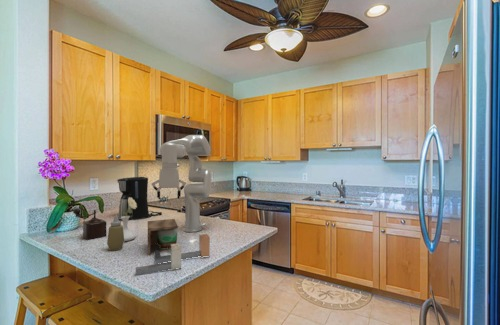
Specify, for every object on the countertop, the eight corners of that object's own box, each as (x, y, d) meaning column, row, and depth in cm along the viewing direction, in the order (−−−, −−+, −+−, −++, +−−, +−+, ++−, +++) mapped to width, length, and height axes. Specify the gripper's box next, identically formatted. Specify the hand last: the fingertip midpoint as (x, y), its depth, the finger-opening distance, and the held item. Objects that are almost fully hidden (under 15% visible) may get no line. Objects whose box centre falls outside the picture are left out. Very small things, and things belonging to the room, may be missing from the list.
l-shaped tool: (179, 265, 109) (180, 243, 109) (181, 268, 105) (181, 245, 105) (135, 272, 101) (135, 248, 101) (135, 276, 98) (135, 251, 98)
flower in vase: (124, 244, 136) (124, 199, 136) (109, 241, 140) (109, 198, 140) (142, 237, 148) (142, 196, 148) (128, 235, 152) (128, 195, 152)
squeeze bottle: (112, 252, 123) (112, 217, 123) (103, 249, 127) (104, 215, 127) (127, 248, 130) (127, 214, 130) (119, 245, 134) (119, 212, 134)
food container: (156, 251, 126) (157, 231, 126) (155, 247, 131) (155, 228, 131) (180, 247, 131) (181, 228, 131) (178, 243, 137) (178, 226, 137)
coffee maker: (112, 218, 198) (112, 177, 198) (150, 211, 223) (150, 175, 223) (125, 222, 184) (125, 178, 184) (163, 215, 209) (163, 176, 209)
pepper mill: (101, 232, 157) (101, 205, 157) (106, 236, 150) (107, 207, 149) (72, 238, 145) (72, 208, 145) (76, 242, 138) (77, 211, 138)
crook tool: (204, 249, 129) (204, 230, 129) (209, 257, 118) (209, 236, 118) (154, 256, 119) (154, 235, 119) (155, 265, 108) (155, 243, 108)
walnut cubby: (174, 241, 141) (174, 218, 141) (177, 251, 125) (177, 225, 125) (147, 244, 135) (147, 221, 135) (147, 255, 120) (147, 228, 120)
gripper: (185, 166, 135) (184, 197, 134) (151, 166, 128) (151, 198, 128) (186, 166, 128) (186, 198, 127) (151, 166, 121) (151, 200, 121)
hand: (168, 198), depth 128 cm, fingers open, 9 cm apart
